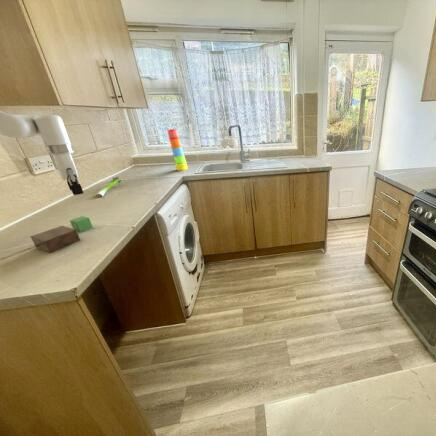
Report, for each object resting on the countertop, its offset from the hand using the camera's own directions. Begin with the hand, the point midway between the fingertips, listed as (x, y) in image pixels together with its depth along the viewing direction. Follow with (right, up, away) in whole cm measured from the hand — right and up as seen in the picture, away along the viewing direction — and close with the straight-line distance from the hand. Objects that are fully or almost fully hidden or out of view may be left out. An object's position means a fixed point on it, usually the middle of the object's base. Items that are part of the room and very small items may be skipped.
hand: (76, 191), depth 101 cm
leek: (-33, +8, +64) cm, 72 cm away
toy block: (-4, -16, +8) cm, 18 cm away
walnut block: (-3, -21, -4) cm, 22 cm away
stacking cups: (-8, +31, +115) cm, 119 cm away
